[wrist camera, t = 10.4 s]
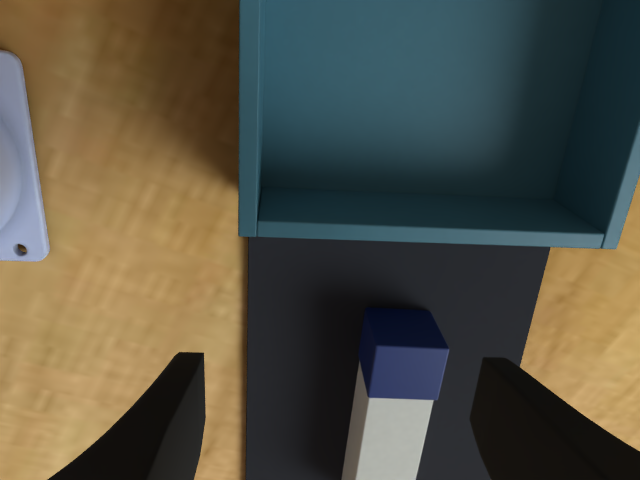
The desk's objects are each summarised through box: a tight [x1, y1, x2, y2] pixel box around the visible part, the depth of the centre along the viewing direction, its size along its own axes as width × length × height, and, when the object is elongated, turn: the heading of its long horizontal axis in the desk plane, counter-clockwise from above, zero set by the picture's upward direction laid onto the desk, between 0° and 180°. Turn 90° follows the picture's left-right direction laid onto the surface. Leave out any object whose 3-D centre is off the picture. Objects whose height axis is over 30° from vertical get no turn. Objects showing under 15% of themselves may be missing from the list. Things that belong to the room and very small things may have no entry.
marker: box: [341, 307, 449, 480], centre depth 24 cm, size 12×3×3 cm, turn 174°
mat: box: [246, 236, 550, 480], centre depth 25 cm, size 13×19×1 cm
